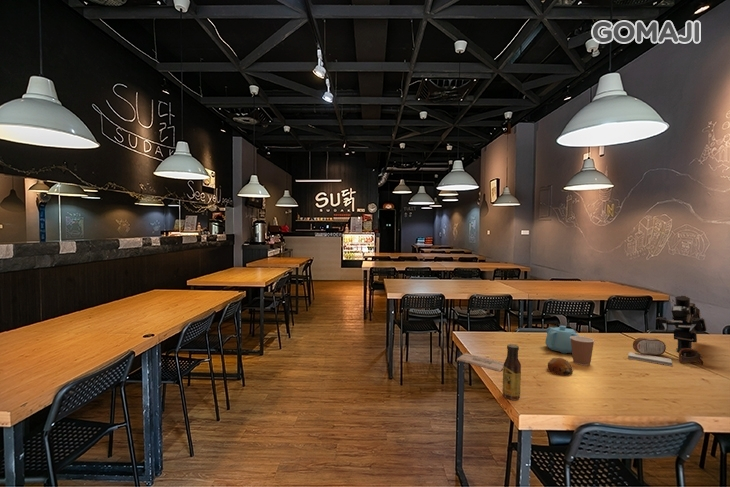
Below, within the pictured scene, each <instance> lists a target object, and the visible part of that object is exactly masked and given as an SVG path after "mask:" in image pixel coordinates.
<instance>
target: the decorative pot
mask: <svg viewBox="0 0 730 487" xmlns="http://www.w3.org/2000/svg"><path fill="white" fill-rule="evenodd" d="M571 336H580V335H579V334H578V333H577V332H576V331H575V330H574V329H572V328H567V326H566V325H559V327H555V326H554V327H552V326H550V327H547V328H546V337H545V342H544V343H545V345H546V347H547V348H549V349H550V350H551V351H557V352H560V353H561V354H563V355H567V353H568V354H569V353H570V354H571V353H572V347H571V339H570V337H571Z"/></svg>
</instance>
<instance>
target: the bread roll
mask: <svg viewBox="0 0 730 487" xmlns="http://www.w3.org/2000/svg"><path fill="white" fill-rule="evenodd" d="M547 370H548V371H549V372H551V373H552V374H554V375H558V376H570V375H571V374H573V370H574V369H573V366H572V364H571V362H569V360H567V359H565V358H562V357H553V358H551V359H550V360H549V361H548V362H547Z"/></svg>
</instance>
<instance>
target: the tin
mask: <svg viewBox="0 0 730 487" xmlns="http://www.w3.org/2000/svg"><path fill="white" fill-rule="evenodd" d="M666 348H667V346H666V343H665V342H663V341H662V340H660V339H658V338H652V337H638V338H636V339H635V340H633V343H632V349H633V350H634V351H635V353H636V352H637V353H638V354H644V355H650V356H660V355H663V354H664V353H665V352H666V350H667V349H666Z"/></svg>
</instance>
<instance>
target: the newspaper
mask: <svg viewBox="0 0 730 487" xmlns="http://www.w3.org/2000/svg"><path fill="white" fill-rule="evenodd" d="M456 361H459V362H462V363H467V364H470V365H474V366H478V367H481V368H486V369H488V370H493V371H497V372H501V371H503V365H504V362H503V361H498V360H494V359H491V358H486V357H482V356H479V355H474V354H471V353H466V352H465V353H463V354H461V355H460V356H458V357H457V359H456Z"/></svg>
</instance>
